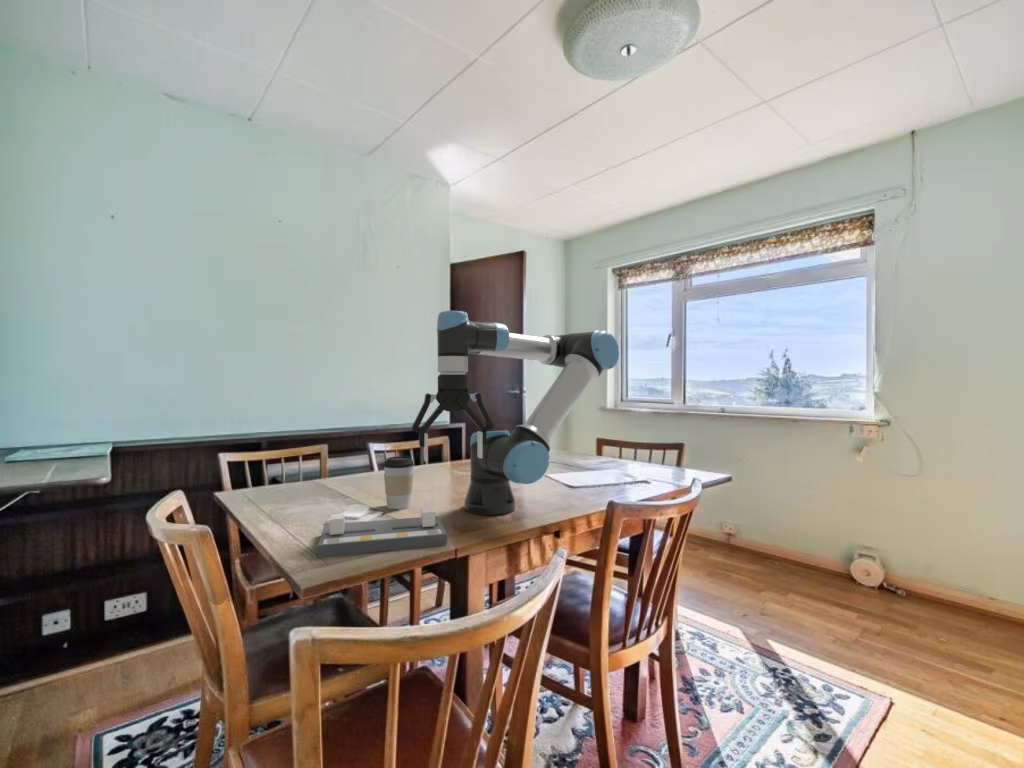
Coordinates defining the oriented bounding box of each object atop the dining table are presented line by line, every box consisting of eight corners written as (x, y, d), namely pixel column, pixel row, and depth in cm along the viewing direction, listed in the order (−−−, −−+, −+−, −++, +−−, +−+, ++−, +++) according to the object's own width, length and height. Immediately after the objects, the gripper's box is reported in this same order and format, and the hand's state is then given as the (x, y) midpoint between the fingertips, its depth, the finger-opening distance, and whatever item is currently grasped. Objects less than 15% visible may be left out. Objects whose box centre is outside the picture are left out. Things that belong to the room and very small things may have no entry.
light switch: (384, 502, 136) (364, 512, 123) (383, 517, 136) (363, 529, 123) (348, 501, 137) (325, 511, 125) (348, 515, 137) (324, 526, 125)
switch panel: (438, 525, 125) (438, 515, 125) (446, 544, 110) (446, 533, 110) (324, 534, 117) (324, 523, 117) (317, 557, 102) (317, 544, 102)
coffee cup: (398, 512, 136) (398, 460, 136) (376, 507, 141) (376, 457, 141) (420, 505, 144) (420, 456, 144) (398, 501, 149) (398, 453, 148)
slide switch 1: (344, 528, 113) (344, 513, 113) (343, 533, 109) (343, 518, 109) (331, 529, 112) (331, 514, 112) (329, 534, 108) (329, 519, 108)
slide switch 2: (433, 521, 119) (433, 507, 119) (435, 526, 115) (435, 511, 115) (420, 522, 118) (421, 508, 118) (422, 527, 114) (422, 512, 114)
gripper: (497, 373, 125) (497, 453, 125) (400, 373, 118) (401, 458, 118) (505, 373, 118) (505, 458, 118) (402, 373, 111) (402, 464, 111)
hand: (453, 458), depth 118 cm, fingers open, 13 cm apart
